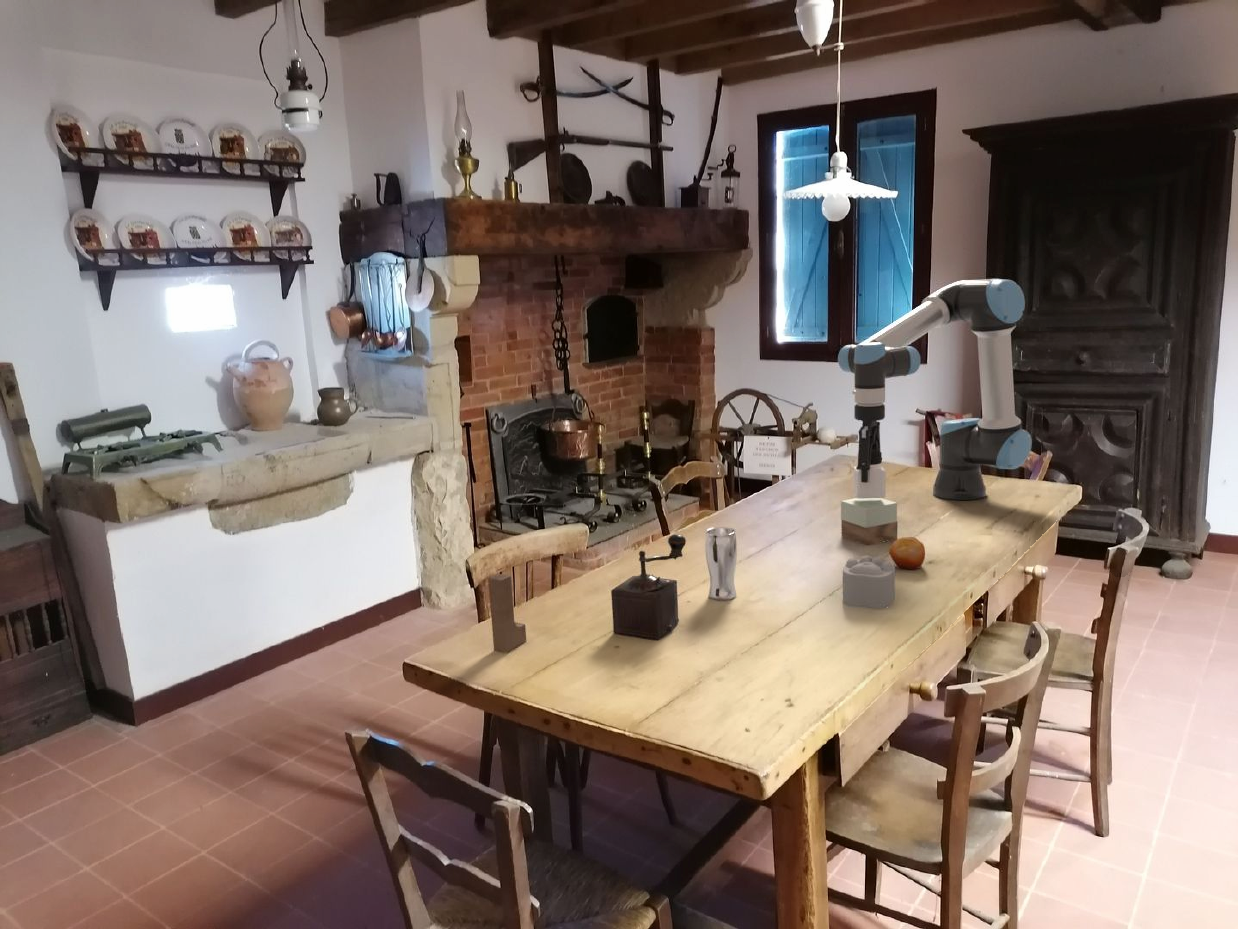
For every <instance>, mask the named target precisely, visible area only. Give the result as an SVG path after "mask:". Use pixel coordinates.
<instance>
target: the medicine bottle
mask: <svg viewBox="0 0 1238 929" xmlns="http://www.w3.org/2000/svg"><path fill="white" fill-rule="evenodd" d="M856 456H857V458H856V460H857V461H856V462H857V463H856V466H855V465H854V466H853V472H852V473H853V482H852V483H853V484H852V486H853V493H854V495H855V496H856V498H858V499H863V498H882V499H885V498H886V495H887V492H886V488H887V487H886V486H887V482H886V480H887V479H886V478H887V476H886V474H887V472H886V470H885V469H884V467H883V466H882V461H883V457H882V452H881V450H880V451H879V450H876V449H872V452H871V462H870V469H871V495H865V494H860V470H857V469H856V467H857V466H858V452H857V453H856Z"/></svg>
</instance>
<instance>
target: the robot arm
mask: <svg viewBox="0 0 1238 929" xmlns="http://www.w3.org/2000/svg"><path fill="white" fill-rule="evenodd" d="M1025 304H1026V301H1025V295H1024V292H1023V290H1022V288H1021V286H1020V285H1019V284H1017V282H1015V281H1014V280H1011V279H1005V278H1004V279H1001V278H986V279H985V278H984V279H962V280H959V281H958V280H957V281H955V282H953V283H950V284H948V285H946V286H944V287H941V288H940V289H938V290H936V291H934V292H932V293H931V294H929V295H927V296H926V297H925V298H924V299H922V301H921V304H920V305H919V306H917V307H916V308H913V309H912V310H911V311H909V312H908V313H906V314H905V315H903V316H901V317H900V318H898V319H897V320H895V321H894V322H892V323H890V324H889V325H887V326H886V327H884V328H882V329H880V331H877V332H876V333H875V334H873V335H872V336H870V337H868V338H867V339H865V340H864V341H862V342H860V343H858V344H855V343H854V344H853V343H852V344H847V345H844V346H843V347H842V348H841V349H840V350H839V353H838V356H837V362H838V365H839V367H840V369H841V371H844V372H845V373H852V374H854V390H852V392H851V393H852V394H853V395H854V403H855V405H854V411H853V412H854V419H855V420H857V421H861V422H862V425H861V426H860V429H859V430H858V450H857V453H858V466H857V465H856V466H857V467H856V469H857V470H860V494H865V495H871V469H870V462H871V452H872V449H876V450H879V451H880V452H881V438H880V437H881V433H880V428H881V426H880V425H881V422H880V421H882V420H884V419H885V416H886V406H885V404H884V403H885V402H886V379H890V378H897V377H898V378H899V377H907V376H910V375H913V374H915V373H916V372H918V370H919V368H920V366H921V355H920V353H919V351H918V350H917V348H915V347H914V346H909V345H910V344H912V343H914V342H915V341H917V340H918V339H920V338H921V337H923V336H925V335H926V334H927V333H929V332H930V331H933V329H936V328H937V329H938V328H939V329H940V328H943V327H945V326H946V325H948V324H951V323H958V322H959V323H960V322H967V323H970V331H971V333H973V334H974V335H976V337H977V350H978V364H979V365H978V367H979V379H980V380H979V381H980V382H979V383H980V396H981V410H982V411H981V412H982V417H981V418H979V417H973V418H972V417H969V418H957V419H951V420H946V421H944V422H942V423H941V424H940V432H939V469H938V472H937V475H936V479H935V480H934V481H935V482H934V484H933V486H932V494H933V495H934V496H935V497H938V498H940V499H945V500H954V501H971V500H973V501H974V500H977V499H982V498H985V497H986V496H987V487H986V485H985V483H984V477H983V474H982V471H981V466H985V467H991V468H997V469H999V470H1015V469H1018V468H1020V467H1021V466H1022V465H1024V463H1025V462H1026V460H1027V459H1028V457H1029V456H1030V452H1031V449H1032V443H1033V442H1032V436H1031V434H1030V432H1028V431H1027V430H1025V429H1022V420H1021V419H1020V418H1019V417H1018V416H1017V415H1016V410H1015V409H1016V408H1015V392H1014V390H1015V388H1014V373H1013V371H1014V370H1013V369H1014V368H1013V356H1012V355H1013V353H1012V335H1011V333H1012V332H1013V330H1015V328H1016V327H1017V322H1018V321H1019V320H1020V319H1021V318H1022V317H1023V315H1024V313H1023V312H1024V311H1025V307H1026V306H1025Z"/></svg>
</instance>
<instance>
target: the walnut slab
mask: <svg viewBox="0 0 1238 929" xmlns="http://www.w3.org/2000/svg"><path fill="white" fill-rule="evenodd" d="M841 537H842V538H845V539H847V540H851V541H853V540H854V542H856V541H857V543H860V544H863V545H865V546H871V545H876V543H877V544H880V542H881V543H884V542H883V541H885V542H888V541H887V540H889V541H893V540H897V539H898V521H897V522H893V523H888V524H883V525H878V526H873V527H868V528H865V527H862V526H859V525H856V524H853V523H850V522H847V521H845V520H842V519H841Z"/></svg>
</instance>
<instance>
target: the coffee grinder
mask: <svg viewBox="0 0 1238 929" xmlns="http://www.w3.org/2000/svg"><path fill="white" fill-rule="evenodd" d="M686 542H687V540H686V537H684V535H682V534H671V535H670V536H668V539H667V544H668V545H669V547H670V553H669V555H657V556H655V555H654V556H650V557H646V552H645V550H639V552H638V555H639V558H638V561H639V562H640V574H638V575H633V576H631V577H629V578H628V579H626V580H625V581H622V582H621V583H620V584H619V585H617V586H615V587H614V588H612V589H611V591H610V592H611V593H610V594H611V610H612V611H611V612H612V625H613V626H612V630H613V634H615V635H620V636H626V637H631V638H633V637H634V638H638V639H645V640H651V641H659V640H660V639H662V638H664V637H665V636H666V635H667V634H669V633H670V632H672V631H673V629H674V628H675V627H676V626H677V625H678V624H679V622H680V619H679V605H678V604H679V603H678V602H679V601H678V585H677V584H678V581H677V580H676V579H669V578H662V577H660V576H658V577H657V576H655V575H653V574H648V573H646V563H650V562H654V561H667V560H673V559H674V560H676V559H678V558H682V557H683V553H682V552H683V551H682V550H683V548H684V547H685V546H686Z"/></svg>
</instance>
